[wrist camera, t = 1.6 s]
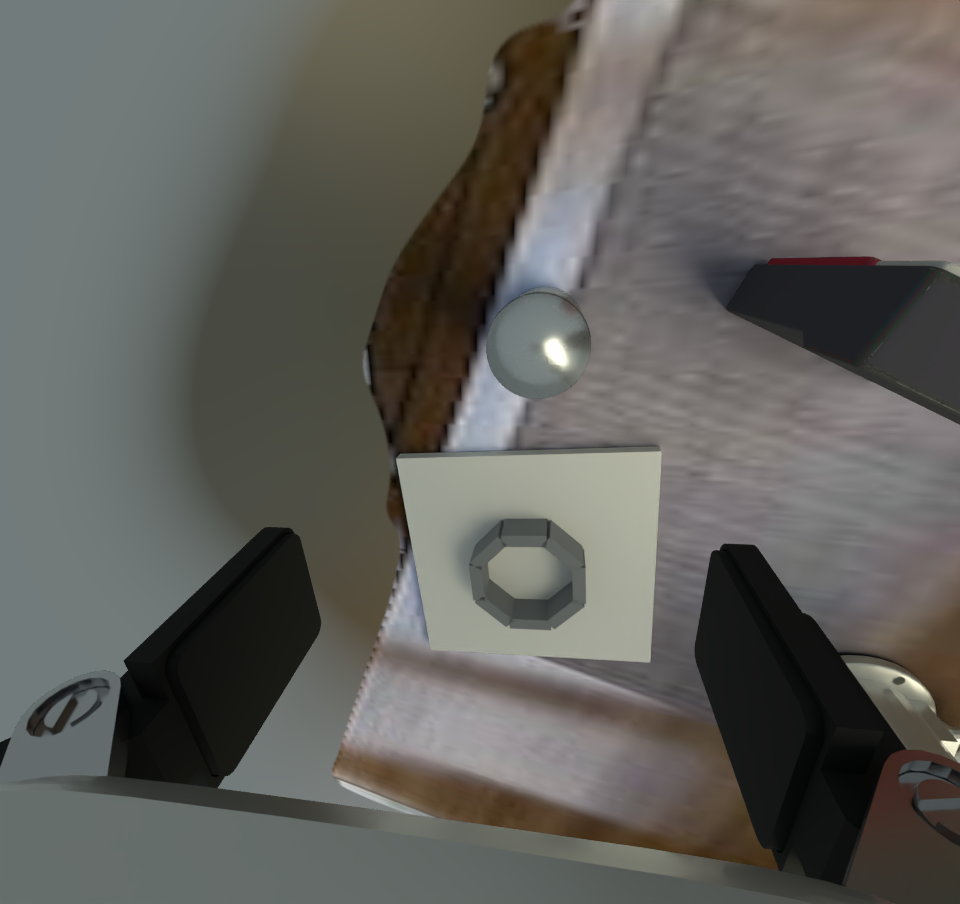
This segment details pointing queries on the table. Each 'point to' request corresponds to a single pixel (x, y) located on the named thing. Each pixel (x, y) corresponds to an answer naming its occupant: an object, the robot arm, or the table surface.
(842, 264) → the upright black box
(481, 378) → the table surface
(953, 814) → the robot arm
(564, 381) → the piston
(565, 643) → the holder
